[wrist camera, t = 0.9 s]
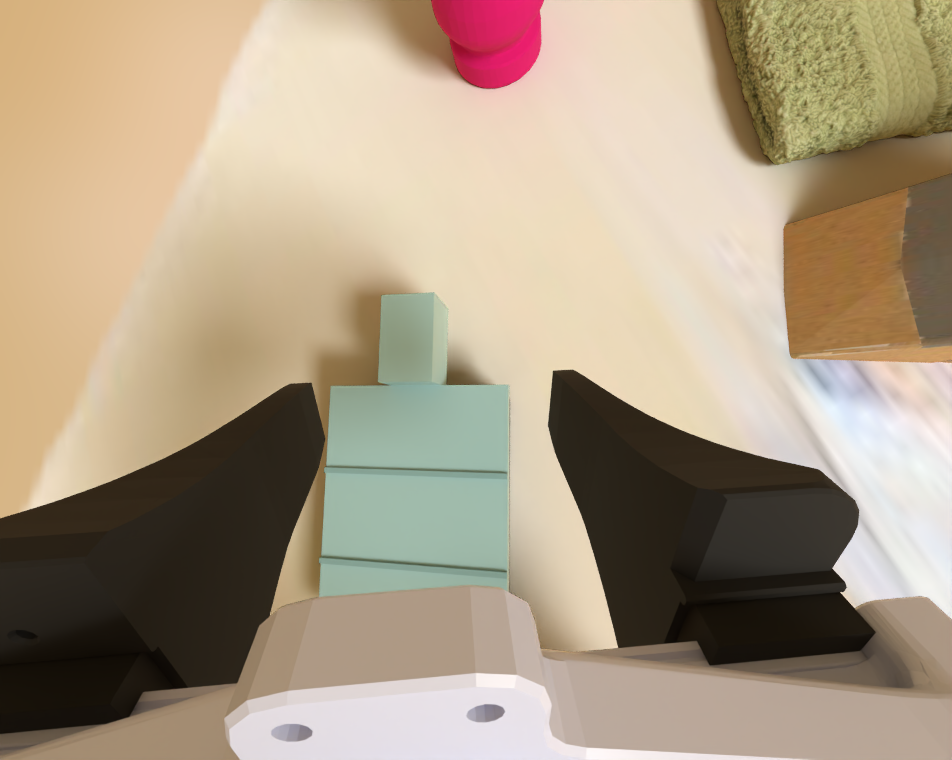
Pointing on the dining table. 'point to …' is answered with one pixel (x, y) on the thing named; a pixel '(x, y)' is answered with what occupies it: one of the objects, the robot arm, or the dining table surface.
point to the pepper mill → (491, 38)
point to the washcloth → (841, 71)
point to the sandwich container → (873, 278)
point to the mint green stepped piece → (415, 468)
